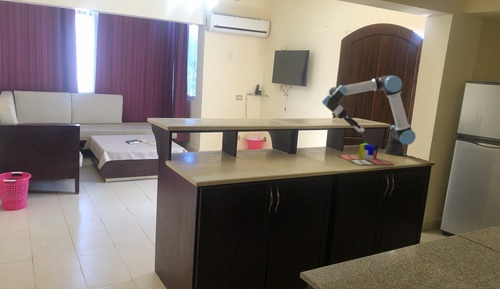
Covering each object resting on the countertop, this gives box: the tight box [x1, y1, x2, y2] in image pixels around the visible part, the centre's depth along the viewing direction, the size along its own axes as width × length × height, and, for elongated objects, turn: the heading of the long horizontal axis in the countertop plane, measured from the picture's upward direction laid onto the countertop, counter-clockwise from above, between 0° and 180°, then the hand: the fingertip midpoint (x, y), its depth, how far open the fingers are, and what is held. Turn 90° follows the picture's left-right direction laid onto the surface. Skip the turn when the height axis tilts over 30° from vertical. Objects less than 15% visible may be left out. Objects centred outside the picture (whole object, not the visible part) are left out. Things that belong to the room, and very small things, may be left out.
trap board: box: [336, 154, 395, 166], centre depth 281 cm, size 29×29×1 cm
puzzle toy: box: [358, 142, 379, 160], centre depth 290 cm, size 10×10×10 cm
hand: (361, 131), depth 289 cm, fingers open, 13 cm apart
